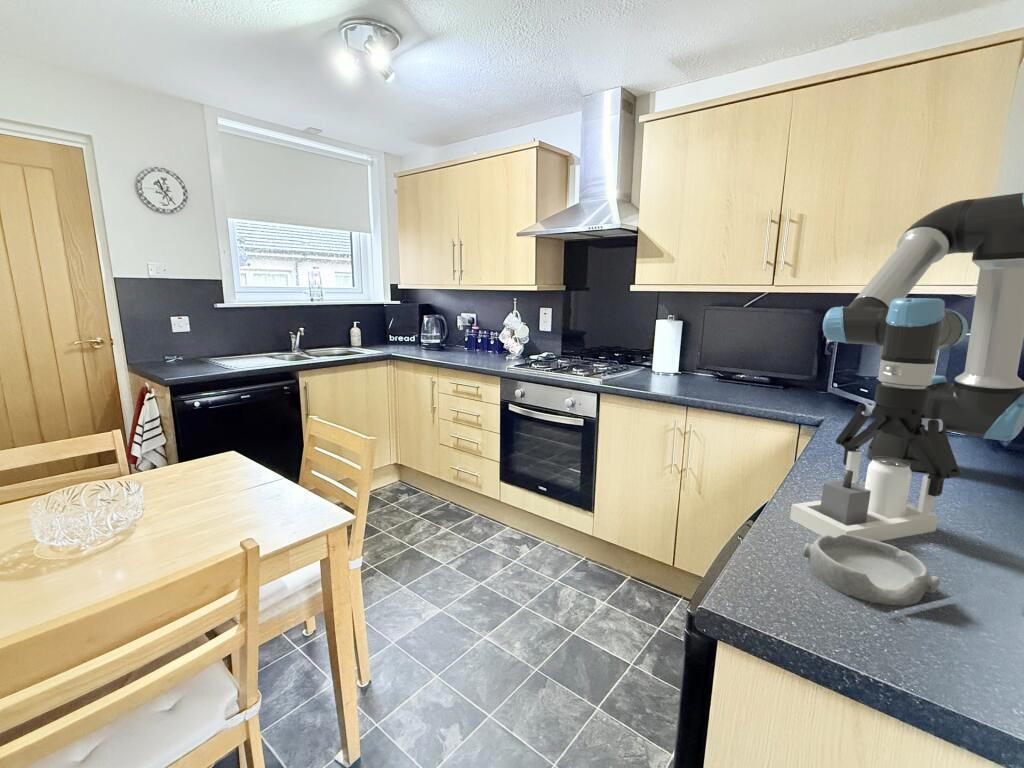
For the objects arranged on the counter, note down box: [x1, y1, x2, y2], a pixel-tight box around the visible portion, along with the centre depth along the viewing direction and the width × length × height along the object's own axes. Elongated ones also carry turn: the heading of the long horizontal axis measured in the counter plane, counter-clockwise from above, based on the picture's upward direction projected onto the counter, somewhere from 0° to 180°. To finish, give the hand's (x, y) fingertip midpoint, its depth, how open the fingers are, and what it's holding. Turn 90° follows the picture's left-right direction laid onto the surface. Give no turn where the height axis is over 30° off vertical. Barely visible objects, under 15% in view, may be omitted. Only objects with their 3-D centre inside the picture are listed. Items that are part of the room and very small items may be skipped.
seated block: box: [820, 470, 871, 526], centre depth 87 cm, size 5×5×11 cm
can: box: [864, 456, 913, 519], centre depth 89 cm, size 6×6×12 cm
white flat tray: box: [789, 500, 939, 542], centre depth 89 cm, size 22×11×4 cm, turn 107°
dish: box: [802, 534, 941, 606], centre depth 72 cm, size 14×14×5 cm
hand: (884, 496), depth 89 cm, fingers open, 13 cm apart
